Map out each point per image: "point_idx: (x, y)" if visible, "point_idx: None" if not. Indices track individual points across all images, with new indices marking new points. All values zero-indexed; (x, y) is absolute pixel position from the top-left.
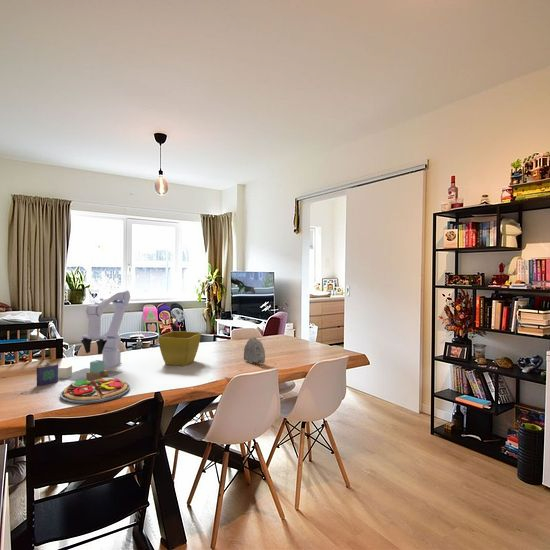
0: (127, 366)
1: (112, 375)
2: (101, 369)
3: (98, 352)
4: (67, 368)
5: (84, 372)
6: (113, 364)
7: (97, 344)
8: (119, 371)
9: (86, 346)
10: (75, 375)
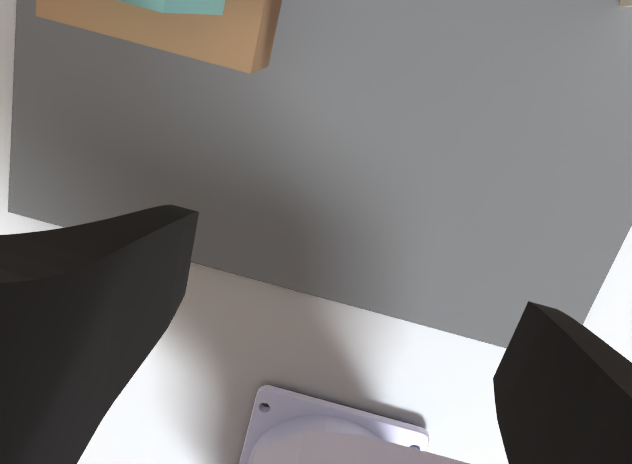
0: (111, 435)
1: (41, 41)
2: None
3: (164, 208)
4: None
5: (491, 165)
6: (255, 450)
7: (35, 267)
8: (63, 225)
9: (603, 413)
10: (561, 7)
